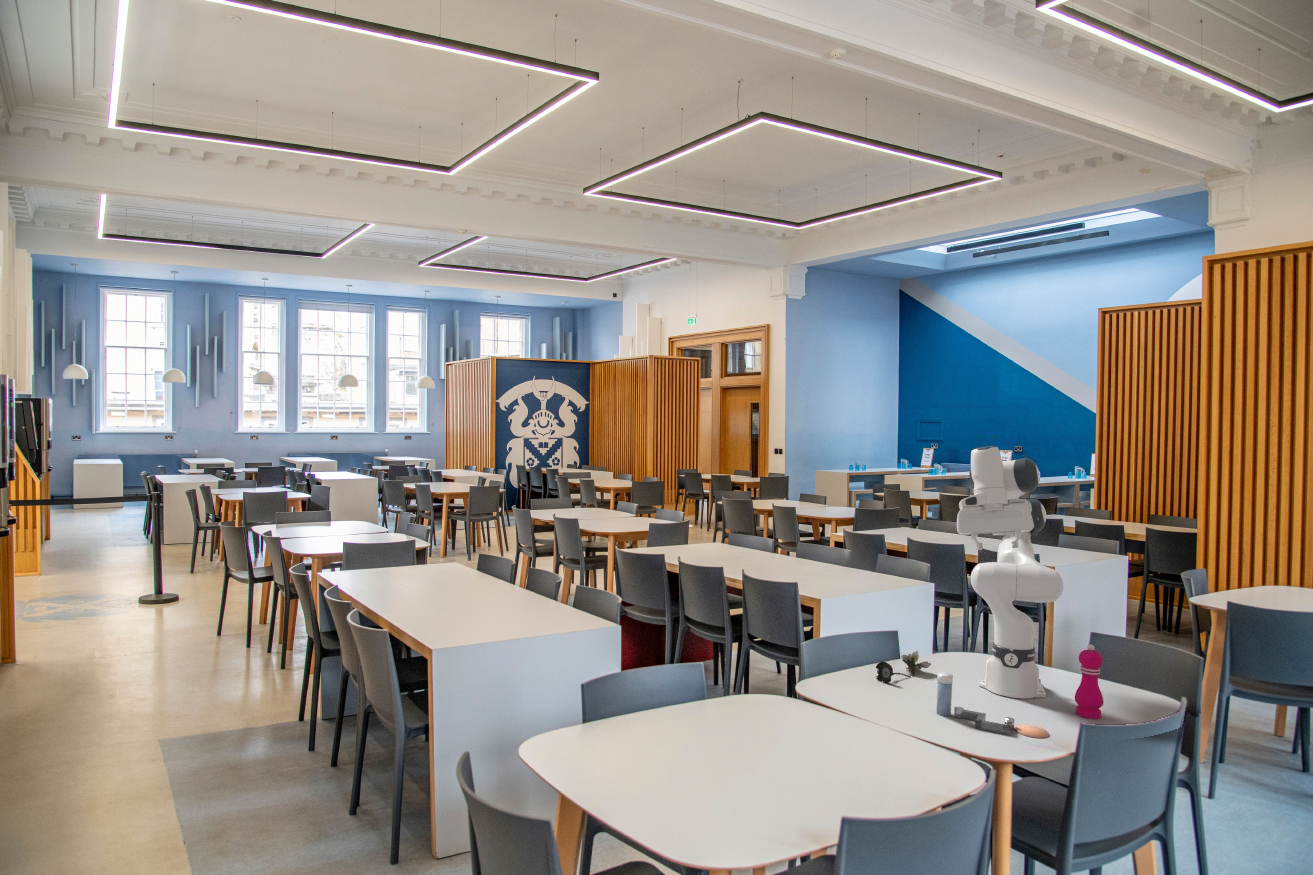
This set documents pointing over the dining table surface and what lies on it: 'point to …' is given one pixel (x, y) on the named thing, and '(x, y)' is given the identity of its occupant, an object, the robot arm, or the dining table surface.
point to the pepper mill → (1089, 685)
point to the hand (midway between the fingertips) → (997, 548)
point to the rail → (983, 724)
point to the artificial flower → (887, 671)
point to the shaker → (944, 693)
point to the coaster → (1031, 731)
